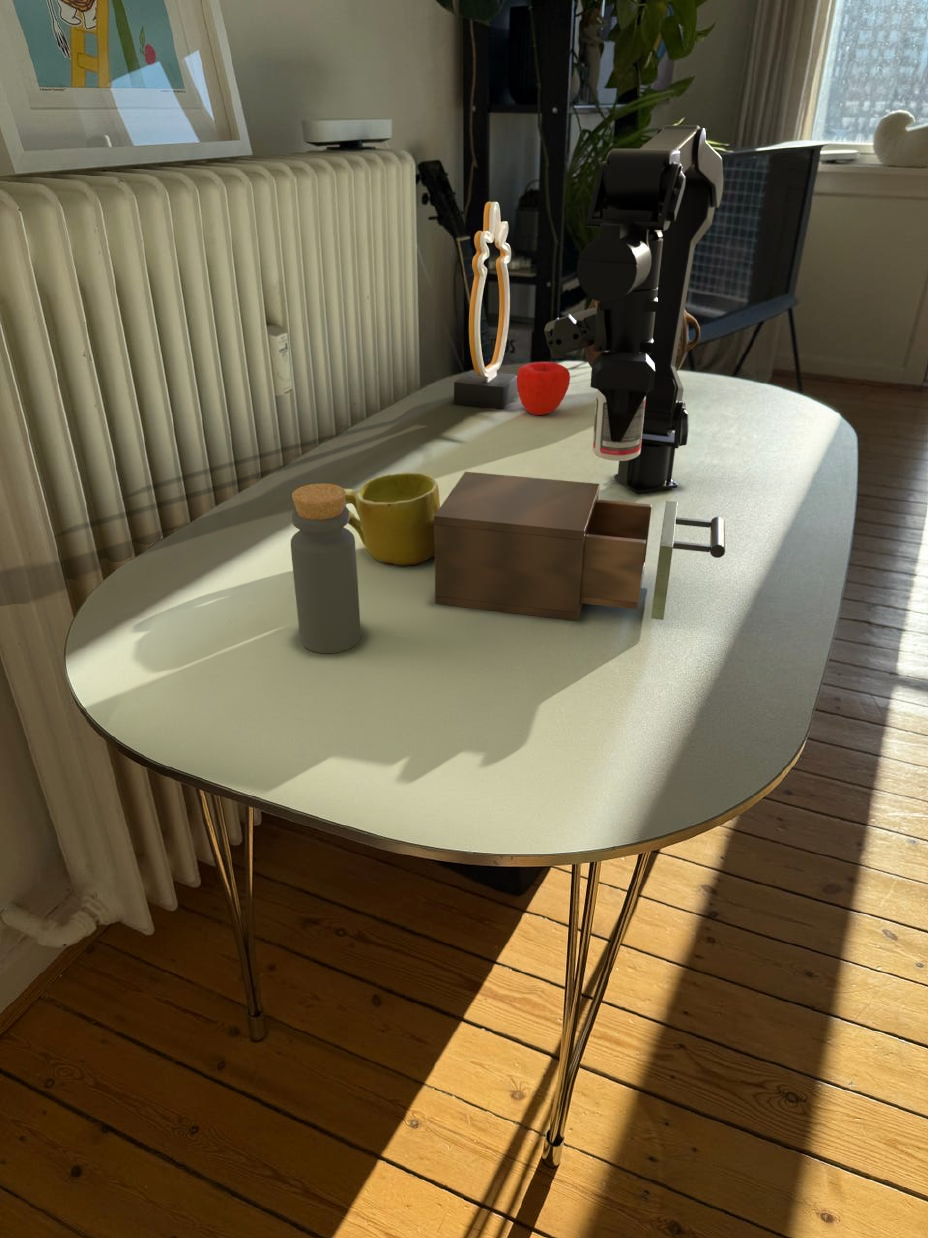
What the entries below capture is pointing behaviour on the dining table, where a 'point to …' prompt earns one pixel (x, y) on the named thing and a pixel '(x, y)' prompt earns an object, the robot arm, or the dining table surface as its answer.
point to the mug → (396, 517)
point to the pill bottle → (602, 438)
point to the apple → (542, 386)
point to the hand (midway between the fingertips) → (616, 433)
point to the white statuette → (482, 381)
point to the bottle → (324, 570)
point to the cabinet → (513, 544)
